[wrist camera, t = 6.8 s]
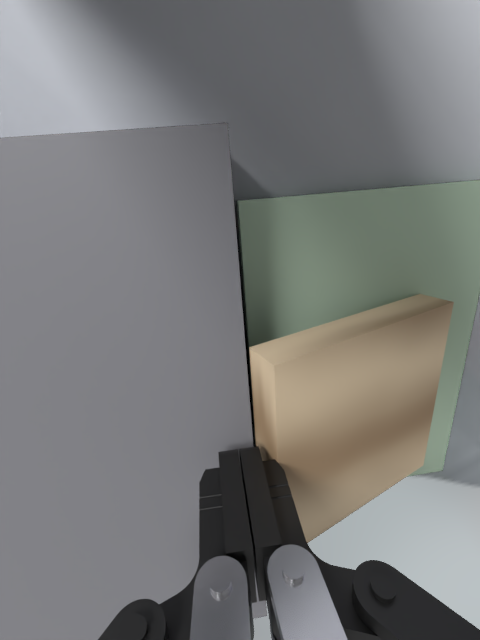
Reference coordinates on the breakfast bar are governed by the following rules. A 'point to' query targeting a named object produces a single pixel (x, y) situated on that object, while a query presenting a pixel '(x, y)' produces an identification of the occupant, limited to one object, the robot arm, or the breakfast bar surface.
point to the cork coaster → (350, 404)
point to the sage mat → (365, 268)
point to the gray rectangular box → (113, 368)
